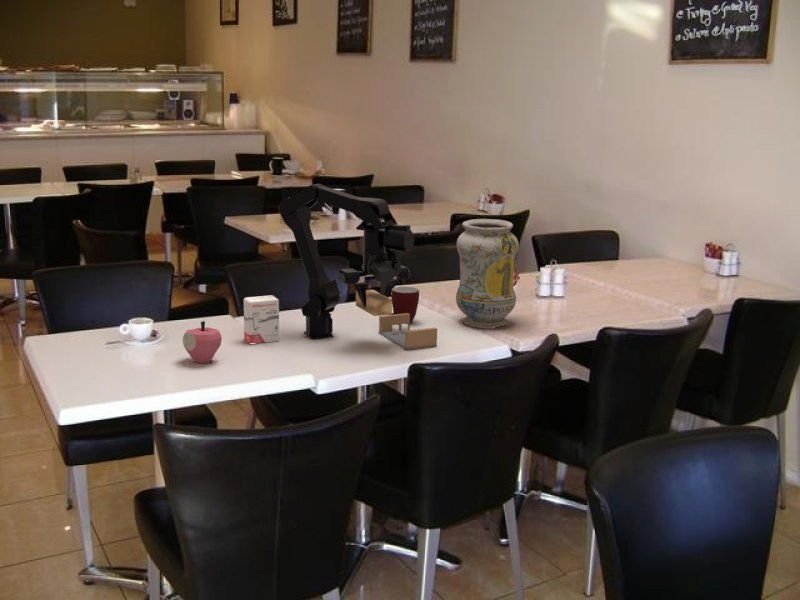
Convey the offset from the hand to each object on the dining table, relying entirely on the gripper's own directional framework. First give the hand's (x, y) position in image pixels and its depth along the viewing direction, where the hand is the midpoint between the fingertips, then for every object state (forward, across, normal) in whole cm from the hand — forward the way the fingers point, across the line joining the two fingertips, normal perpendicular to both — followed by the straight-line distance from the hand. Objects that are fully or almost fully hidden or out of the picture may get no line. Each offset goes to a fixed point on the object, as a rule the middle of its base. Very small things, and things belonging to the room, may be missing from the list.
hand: (373, 305), depth 239 cm
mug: (+11, +17, +17) cm, 26 cm away
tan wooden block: (+1, 0, 0) cm, 1 cm away
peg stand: (+11, +11, +1) cm, 15 cm away
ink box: (+11, -26, +15) cm, 32 cm away
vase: (+11, +40, +8) cm, 42 cm away
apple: (+11, -45, +3) cm, 47 cm away
